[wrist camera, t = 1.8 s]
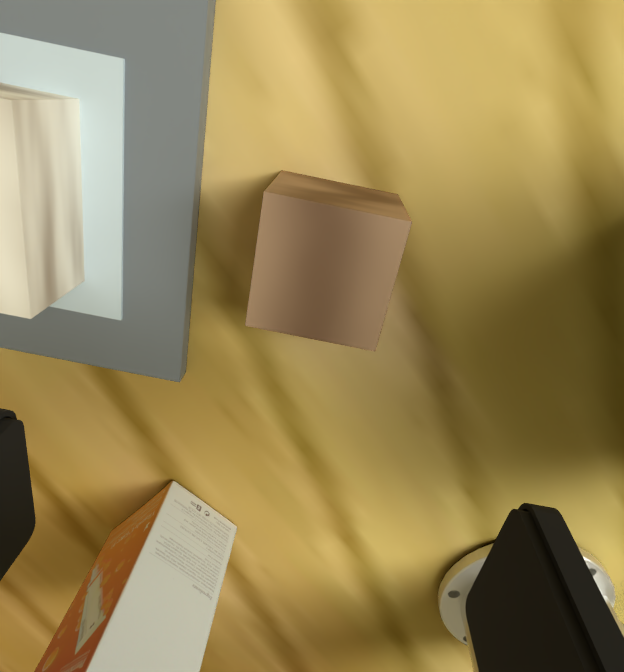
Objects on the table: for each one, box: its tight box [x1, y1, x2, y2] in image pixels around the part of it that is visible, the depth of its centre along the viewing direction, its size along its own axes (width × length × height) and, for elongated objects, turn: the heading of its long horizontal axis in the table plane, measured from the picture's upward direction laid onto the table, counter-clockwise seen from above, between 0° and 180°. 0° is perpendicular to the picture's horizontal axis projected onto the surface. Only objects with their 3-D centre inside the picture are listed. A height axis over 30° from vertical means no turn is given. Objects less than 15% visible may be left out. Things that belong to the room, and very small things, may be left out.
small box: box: [35, 481, 237, 672], centre depth 31 cm, size 8×6×13 cm
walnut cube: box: [245, 171, 412, 351], centre depth 23 cm, size 6×6×6 cm
